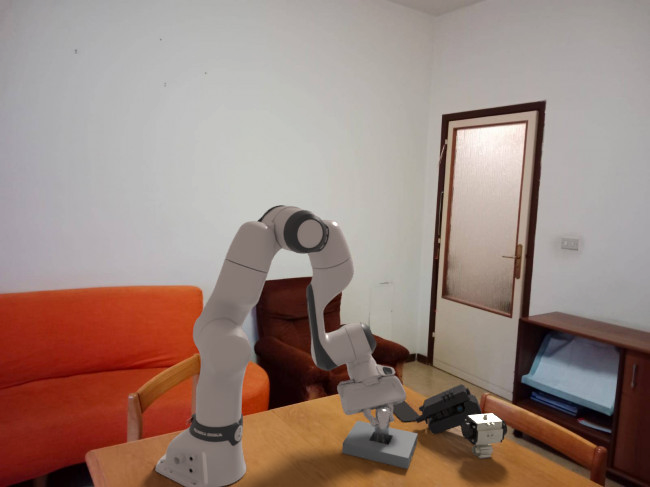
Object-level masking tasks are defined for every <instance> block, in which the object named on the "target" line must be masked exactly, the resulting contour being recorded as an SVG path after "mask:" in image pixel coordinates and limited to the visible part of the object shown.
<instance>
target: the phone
mask: <svg viewBox="0 0 650 487" xmlns="http://www.w3.org/2000/svg"><path fill="white" fill-rule="evenodd" d="M393 415H395V416H396V417H397V419H398V420H399V419H400V420H401V421H400V420H399V421H400V422H402V423H411V422H412V421H413V422H416V419H415V417H417V416H420V414H418V412H416V410H414V409H413V407H411V406H410V404H408V402H406V400H404V401H403V402H402V403H400V404H396V405H393ZM413 422H412V423H413Z"/></svg>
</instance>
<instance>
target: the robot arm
mask: <svg viewBox="0 0 650 487" xmlns="http://www.w3.org/2000/svg"><path fill="white" fill-rule="evenodd" d="M281 249H283V250H285V251H289V252H294V253H296V254H301V255H302V254H303V255H304V254H307V256H308V258H309V263H310V267H311V269H312V276H311V281H310V283H309V284H308V285H307V286H306V292H305V293H306V296H305V298H306V305H307V306H306V307H307V315H308V324H309V332H310V342H311V344H310V353H311V358H312V360H313V362H314V364H315V366H316V368H319V369H321V370H323V371H325V372H326V371H327V372H330V371H332V370H334V369H336V368H338V367H340V366H342V365H346V367H347V369H346V370H347V374H348V376H349V379H348V380H342V381H340V382H339V383H338V385H337V386H336V387H337V388H336V389H337V393H338V396H339V398H340V403H341V408H342V412H343V413H344V414H345V415H346V416H351V415H352V416H353V415H355V414H359V413H363V414H362V415H363V416H364V417H365V418H366V419H367V420H368V421H369V423H371V425H372V427H374V426H377V425H378V424H379V422H378V419H377V418H375V416H373V414H372V411H373V410H376V407H379V406H385V407H388V408H389V409H390V422H389V423H393V422H394V421H395V416H394V413H393V405H396V404H400V403H402V402H403V401H406V400H407V393H406V390H405V388H404V386H403V384H402V382H401V380H400V379H399V377H398V376H396V375H395V374H396V371H395V369H394V367H391V366H386V365H381V364H377V361H376V360H375V359H374V357H373V356H372V354H373V353H374V351H375V349H376V347H377V344H378V343H377V340H376V339H375V337H374V334H373V333H372V330H371V326H370V325H367V324H366V323H364V322H356V323H355V322H353V323H346V324H344V325H341V327H340V328H339V329H336V330H334V331H333V330H332V331H331V332H326V329H325V321H324V312H325V311H324V310H325V308H326V306H327V305H328V304H329V303H330V302H331V301H332V300H333V299H334V298H335V297H336V296H338V295H339V294H341V293H342V292H343V291H344V290H345V289H346V288H348V286H349V285H350V284H351V282H352V280H353V278H354V274H355V269H354V267H355V266H354V262H353V258H352V255H351V251H350V247H349V246H348V242H347V239H346V238H345V235H344V233H343V231H342V228H341V227H340V225H339V224H338V223H337V222H335V221H334V220H331V219H322V218H321V217H319V215H317V214H316V213H315V212H314V211H313V212H312V211H311V210H306V209H303V208H300V207H297V206H293V205H284V204H283V205H282V204H281V205H280V204H279V205H276V206H275V205H274V206H272V207H270V208H269V209H268V210H266V211H265V212H264V213H263V215H262V216H261V217H260V218H259V219H258V220H252V221H246V222H244V223H242V224H241V225H240V227H239V228H238V230H237V232H236V233H235V235H234V237H233V238H232V241H231V244H230V245H229V248H228V250H227V253H226V255H225V257H224V260H223V263H222V266H221V270H220V272H219V275H218V278H217V280H216V283H215V285H214V288H213V290H212V293H211V294H210V297H209V298H208V300H207V302H206V303H205V306H204V307H203V309H202V311H201V313H200V315H199V316H198V318H197V319H195V322H194V323H193V324H194V325H193V330H192V339H193V342H194V343H193V344H194V345H195V347H196V348H197V350H198V352H199V357H200V369H199V370H200V371H199V377H198V382H197V384H196V388H195V391H196V393H195V412H194V413H193V414H192V415H191V416H190V417H189V418H188V419H187V420H186V421H185V422H186V423H185V425H186V426H188V425H189V424H190V426H189V427H187V428H186V429H184V430H182V432H180V433H178V434H177V436H175V437H173V439H171V441H170V442H169V444H168V445H167V449H166V452H165V454H163V455H162V457H160V458H159V459H158V461H157V463H156V465H155V472H156V473H158V474H161V475H162V476H164V477H166V478H168V479H169V480H172V481H174V482H176V483H178V484H179V485H181V486H184V487H225V486H228V485H231V484H234V483H235V482H238V480H241V479H242V477H243V476H245V474H246V472H247V464H246V461H245V457H244V451H243V443H242V442H243V441H242V439H243V432H244V431H243V430H244V415H243V413H242V405H243V402H242V401H243V400H242V399H243V385H244V379H245V376H246V375H245V374H246V370H247V367H248V366H249V363H250V360H251V359H252V348H251V343H250V340H249V337H248V335H247V334H246V333H245V331H243V328H242V327H243V324H244V322H245V320H246V319H247V317H248V315H249V313H250V312H251V311H252V309H253V308H254V307H255V306H256V305H257V304H258V303H259V301H260V298H261V295H262V292H263V288H264V286H265V283H266V280H267V278H268V274H269V272H270V268H271V265H272V261H273V260H274V258H275V256H276V255H277V254H278V252H280V251H281Z"/></svg>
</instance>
